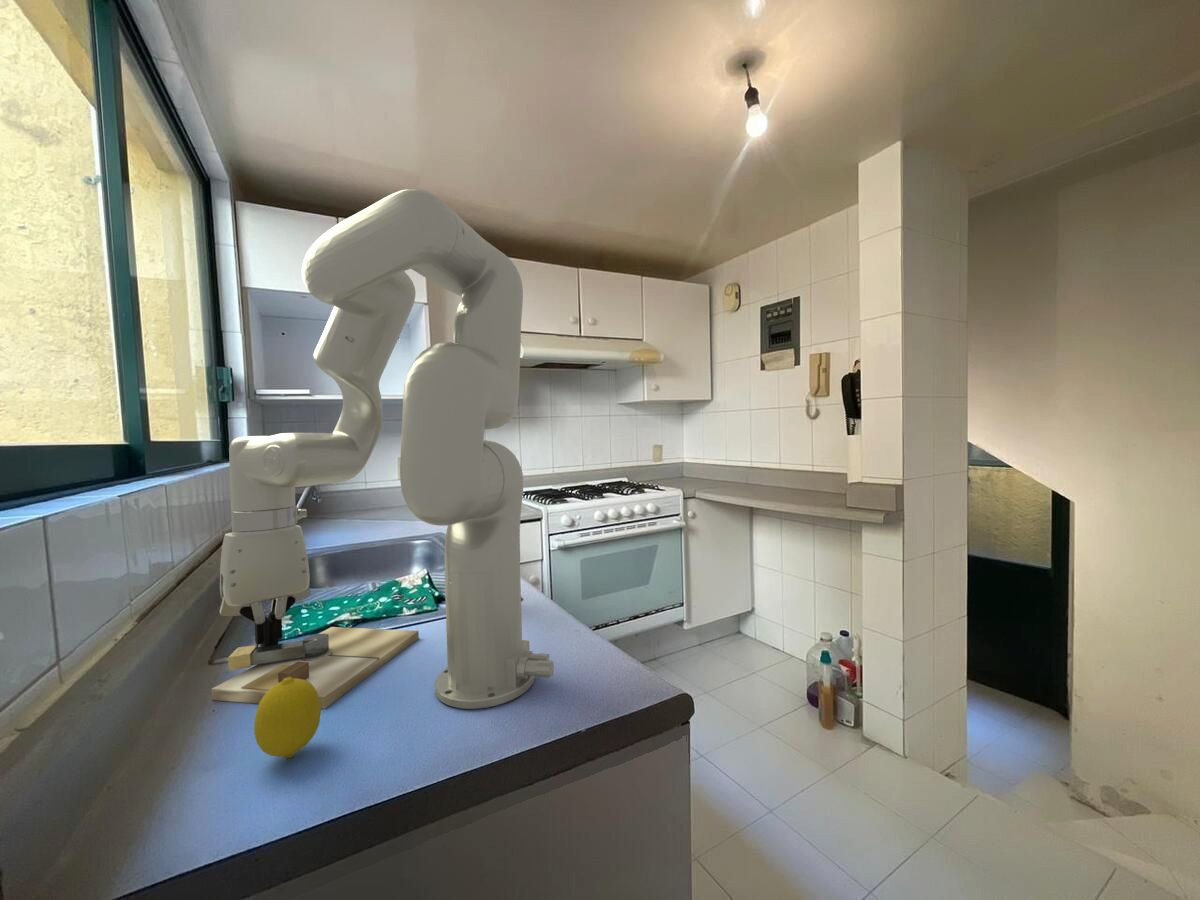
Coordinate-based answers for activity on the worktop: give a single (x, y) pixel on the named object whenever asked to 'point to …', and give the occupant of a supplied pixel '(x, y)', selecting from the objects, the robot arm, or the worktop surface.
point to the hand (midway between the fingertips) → (269, 646)
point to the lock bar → (278, 652)
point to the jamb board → (322, 665)
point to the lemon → (287, 717)
